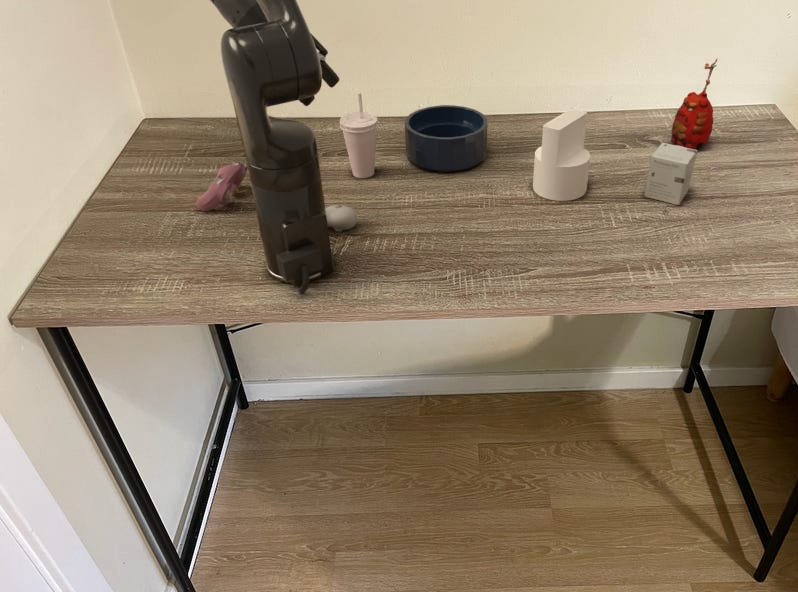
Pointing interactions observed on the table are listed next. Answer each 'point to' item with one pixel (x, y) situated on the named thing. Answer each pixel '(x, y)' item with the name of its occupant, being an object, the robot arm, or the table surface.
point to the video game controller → (222, 187)
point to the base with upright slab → (562, 158)
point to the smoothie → (360, 140)
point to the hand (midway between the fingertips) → (323, 93)
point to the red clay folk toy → (694, 119)
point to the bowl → (446, 138)
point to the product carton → (670, 173)
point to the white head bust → (341, 217)
